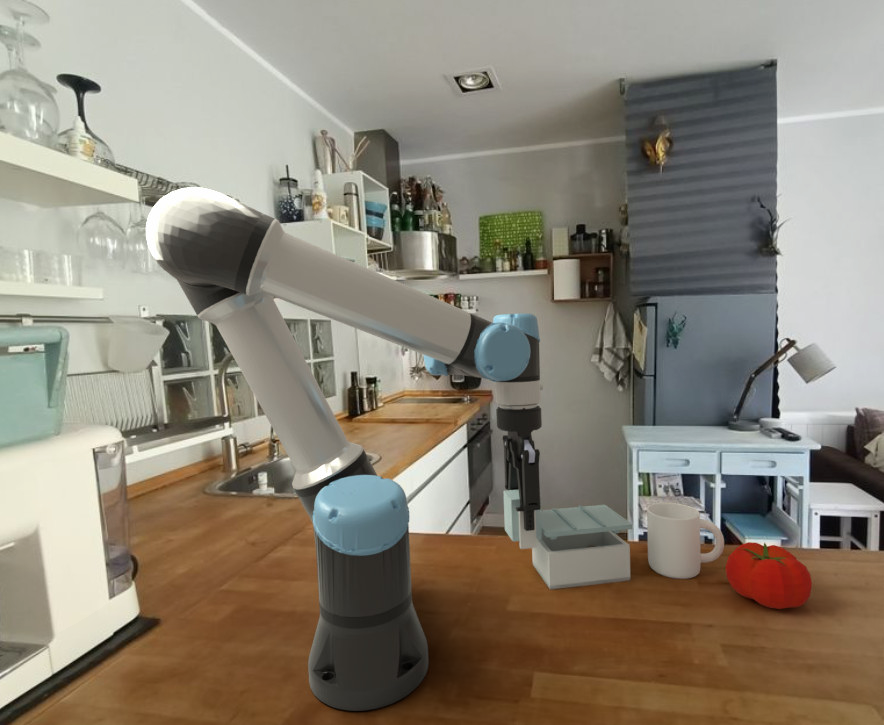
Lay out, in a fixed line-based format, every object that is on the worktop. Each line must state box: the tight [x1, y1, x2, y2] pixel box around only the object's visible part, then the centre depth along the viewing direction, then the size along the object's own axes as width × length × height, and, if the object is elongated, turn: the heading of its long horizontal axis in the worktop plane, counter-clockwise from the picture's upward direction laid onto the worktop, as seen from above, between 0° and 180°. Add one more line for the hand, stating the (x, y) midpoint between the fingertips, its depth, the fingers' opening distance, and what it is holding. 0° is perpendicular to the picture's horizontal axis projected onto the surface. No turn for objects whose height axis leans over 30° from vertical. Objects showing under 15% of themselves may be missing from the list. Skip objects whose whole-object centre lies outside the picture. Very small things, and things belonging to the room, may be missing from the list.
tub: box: [531, 531, 631, 590], centre depth 85 cm, size 9×14×6 cm, turn 98°
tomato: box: [725, 542, 813, 610], centre depth 74 cm, size 11×11×8 cm
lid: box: [503, 489, 633, 542], centre depth 84 cm, size 10×20×7 cm, turn 98°
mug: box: [646, 502, 725, 580], centre depth 84 cm, size 12×8×10 cm
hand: (523, 540), depth 84 cm, fingers closed on lid, 5 cm apart
